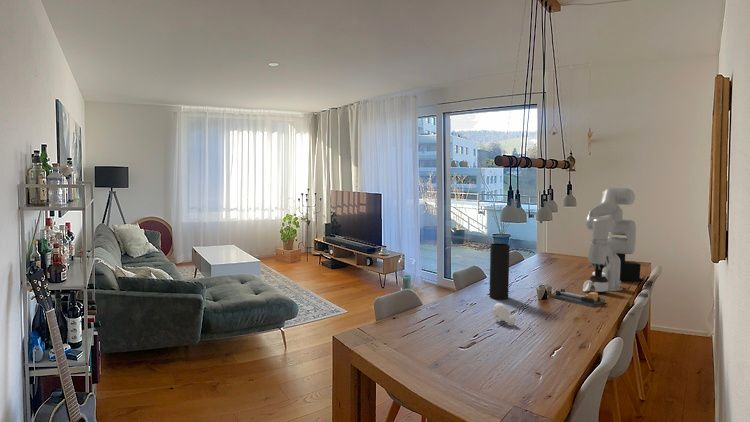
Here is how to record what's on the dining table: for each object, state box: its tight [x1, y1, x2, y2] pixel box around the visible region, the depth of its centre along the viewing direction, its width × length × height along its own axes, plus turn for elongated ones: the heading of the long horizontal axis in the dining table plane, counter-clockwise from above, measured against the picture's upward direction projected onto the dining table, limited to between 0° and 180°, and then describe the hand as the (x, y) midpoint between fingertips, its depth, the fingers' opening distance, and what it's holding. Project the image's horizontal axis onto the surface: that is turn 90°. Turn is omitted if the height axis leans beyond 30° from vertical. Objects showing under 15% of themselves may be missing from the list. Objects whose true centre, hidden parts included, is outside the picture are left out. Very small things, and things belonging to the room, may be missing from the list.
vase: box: [488, 242, 511, 301], centre depth 255 cm, size 10×10×30 cm
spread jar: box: [582, 271, 609, 295], centre depth 267 cm, size 12×11×12 cm
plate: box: [549, 288, 606, 308], centre depth 251 cm, size 14×24×4 cm, turn 38°
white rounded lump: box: [491, 302, 516, 327], centre depth 211 cm, size 6×8×12 cm
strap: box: [559, 290, 585, 298], centre depth 254 cm, size 4×14×1 cm, turn 38°
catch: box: [585, 291, 599, 301], centre depth 245 cm, size 5×5×4 cm
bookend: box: [602, 253, 644, 282], centre depth 300 cm, size 23×11×24 cm, turn 81°
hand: (598, 276), depth 241 cm, fingers closed
